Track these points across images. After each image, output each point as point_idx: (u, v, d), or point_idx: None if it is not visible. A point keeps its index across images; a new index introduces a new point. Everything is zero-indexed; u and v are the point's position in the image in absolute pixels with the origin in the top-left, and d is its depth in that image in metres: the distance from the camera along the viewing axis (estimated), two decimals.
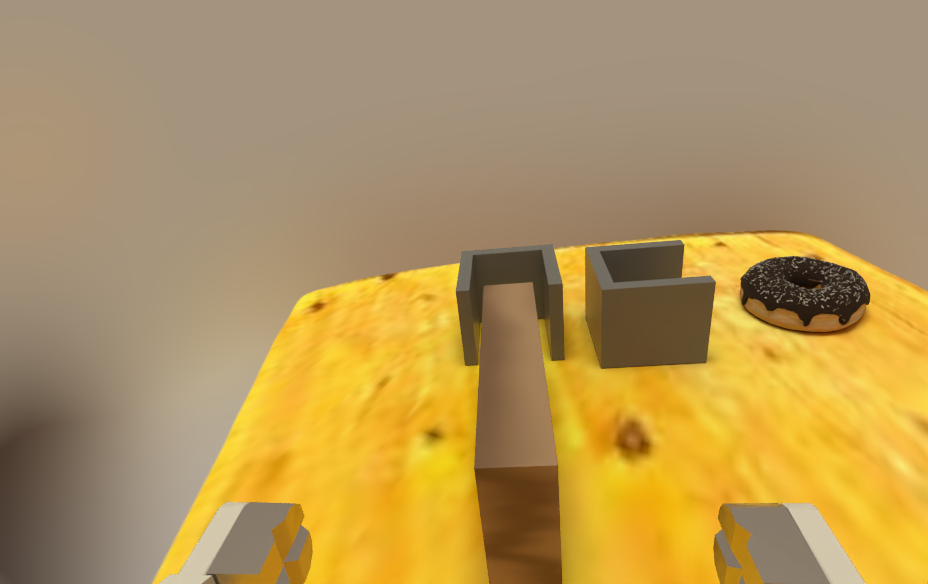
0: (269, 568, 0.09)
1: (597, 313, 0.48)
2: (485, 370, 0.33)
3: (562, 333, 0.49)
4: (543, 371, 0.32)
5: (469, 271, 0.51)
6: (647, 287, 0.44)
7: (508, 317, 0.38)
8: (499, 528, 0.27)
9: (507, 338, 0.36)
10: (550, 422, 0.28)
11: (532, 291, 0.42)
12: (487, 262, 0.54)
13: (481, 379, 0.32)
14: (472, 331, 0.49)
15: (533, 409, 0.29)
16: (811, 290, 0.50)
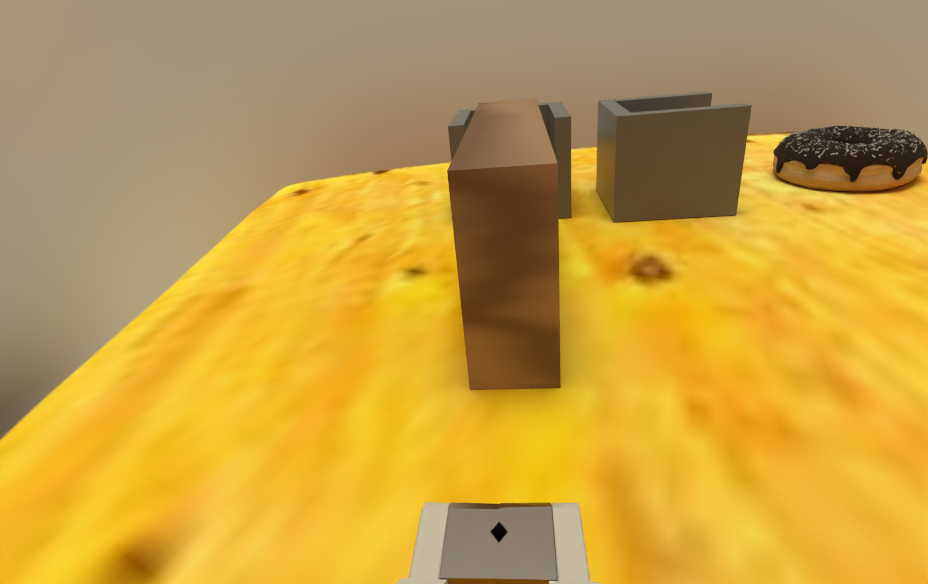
0: None
1: (610, 158, 0.42)
2: (473, 132, 0.27)
3: (569, 182, 0.42)
4: (544, 128, 0.26)
5: (465, 117, 0.45)
6: (670, 113, 0.38)
7: (505, 112, 0.32)
8: (480, 274, 0.21)
9: (502, 119, 0.30)
10: (550, 146, 0.22)
11: (535, 101, 0.35)
12: None
13: (466, 135, 0.26)
14: None
15: (529, 142, 0.23)
16: (859, 144, 0.43)
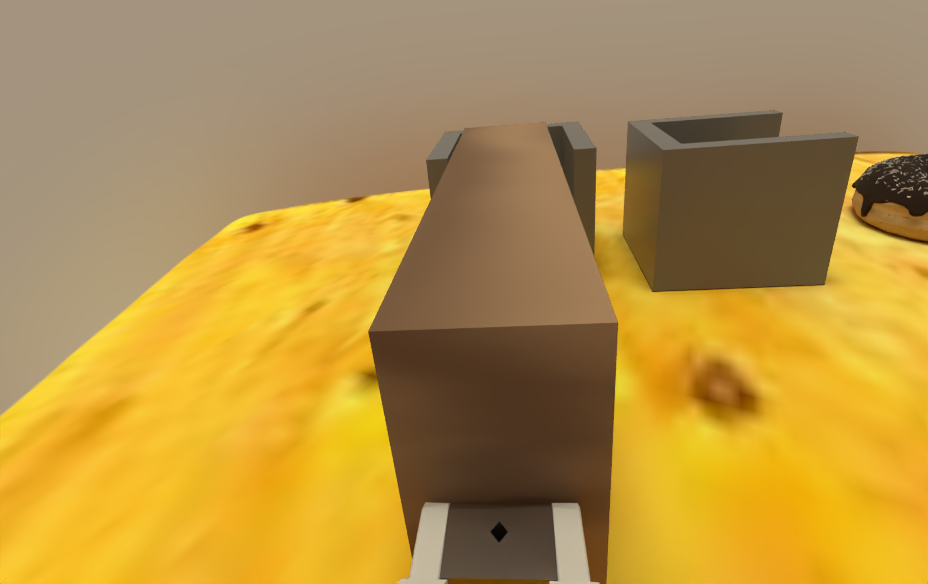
0: None
1: (649, 204, 0.30)
2: (447, 193, 0.16)
3: (592, 236, 0.31)
4: (566, 190, 0.15)
5: (451, 144, 0.33)
6: (740, 146, 0.27)
7: (501, 147, 0.21)
8: None
9: (496, 163, 0.19)
10: (588, 249, 0.11)
11: (545, 127, 0.25)
12: None
13: (434, 202, 0.15)
14: None
15: (545, 232, 0.12)
16: None
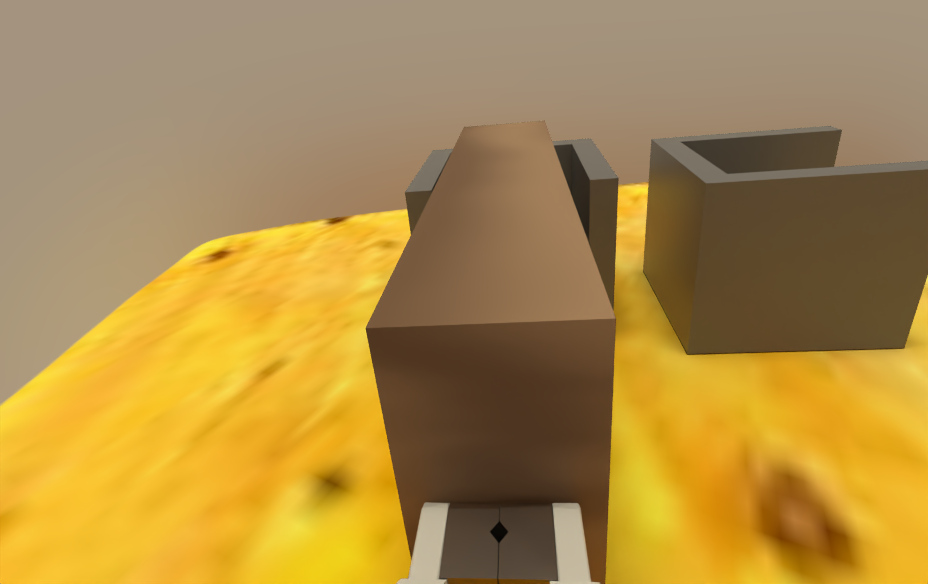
0: (498, 572, 0.09)
1: (683, 245, 0.24)
2: (445, 191, 0.16)
3: (611, 284, 0.25)
4: (565, 187, 0.15)
5: (439, 169, 0.27)
6: (806, 179, 0.21)
7: (500, 146, 0.21)
8: None
9: (495, 161, 0.19)
10: (586, 246, 0.11)
11: (544, 126, 0.25)
12: None
13: (433, 200, 0.15)
14: None
15: (544, 230, 0.12)
16: None
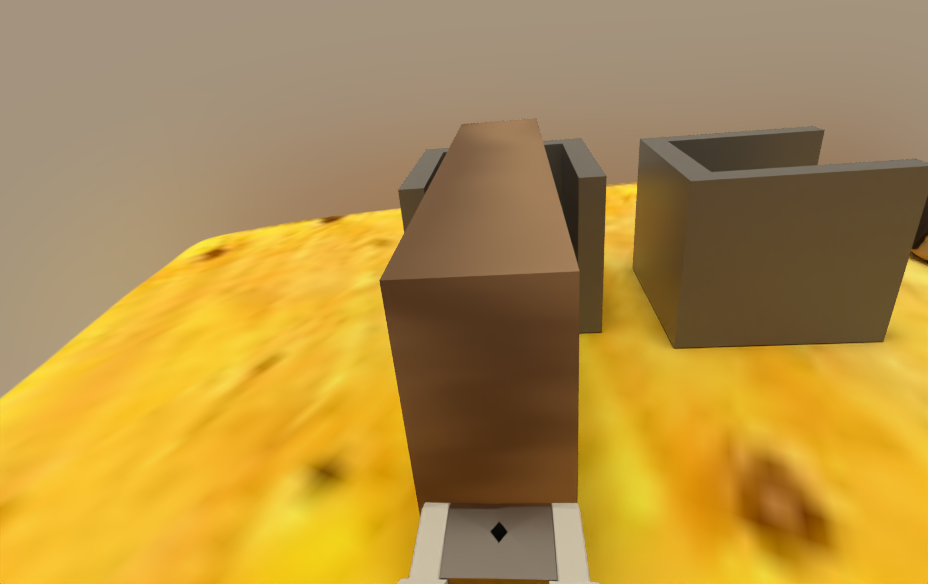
0: None
1: (669, 242, 0.25)
2: (444, 178, 0.18)
3: (600, 280, 0.26)
4: (549, 175, 0.17)
5: (431, 167, 0.28)
6: (787, 176, 0.21)
7: (494, 140, 0.23)
8: (443, 440, 0.12)
9: (489, 153, 0.21)
10: (562, 221, 0.13)
11: (535, 123, 0.27)
12: None
13: (433, 186, 0.17)
14: None
15: (528, 209, 0.14)
16: None
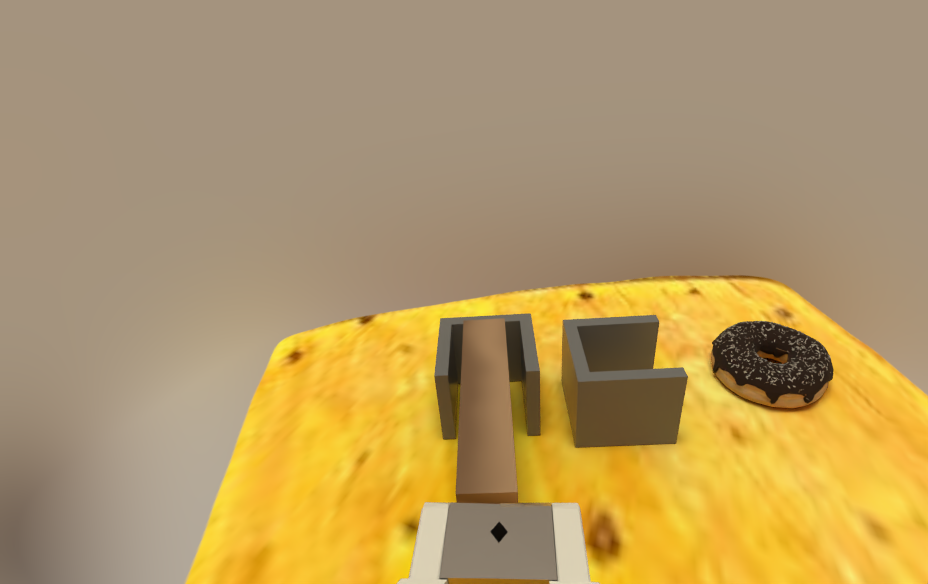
0: None
1: (573, 395, 0.49)
2: (464, 406, 0.41)
3: (538, 413, 0.50)
4: (510, 408, 0.41)
5: (448, 348, 0.51)
6: (622, 380, 0.45)
7: (483, 354, 0.47)
8: None
9: (482, 375, 0.44)
10: (513, 455, 0.37)
11: (504, 328, 0.50)
12: None
13: (461, 414, 0.40)
14: (450, 410, 0.50)
15: (501, 443, 0.38)
16: (779, 367, 0.52)
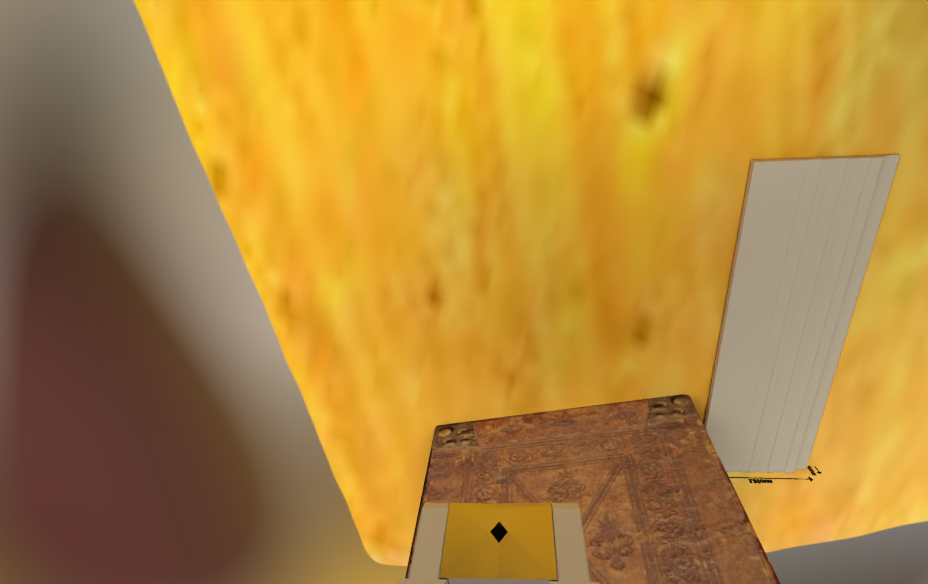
0: None
1: None
2: None
3: None
4: None
5: None
6: None
7: None
8: None
9: None
10: None
11: None
12: None
13: None
14: None
15: None
16: None
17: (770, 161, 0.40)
